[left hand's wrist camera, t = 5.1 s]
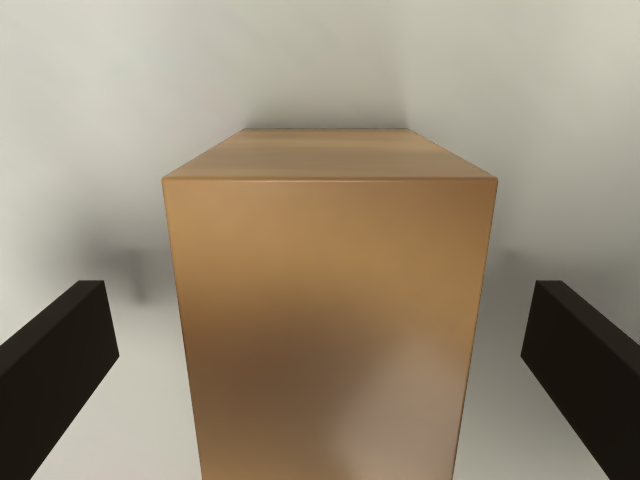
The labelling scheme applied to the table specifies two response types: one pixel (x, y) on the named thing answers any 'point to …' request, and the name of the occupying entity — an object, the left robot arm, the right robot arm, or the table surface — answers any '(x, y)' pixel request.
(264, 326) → the bar
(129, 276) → the table surface
